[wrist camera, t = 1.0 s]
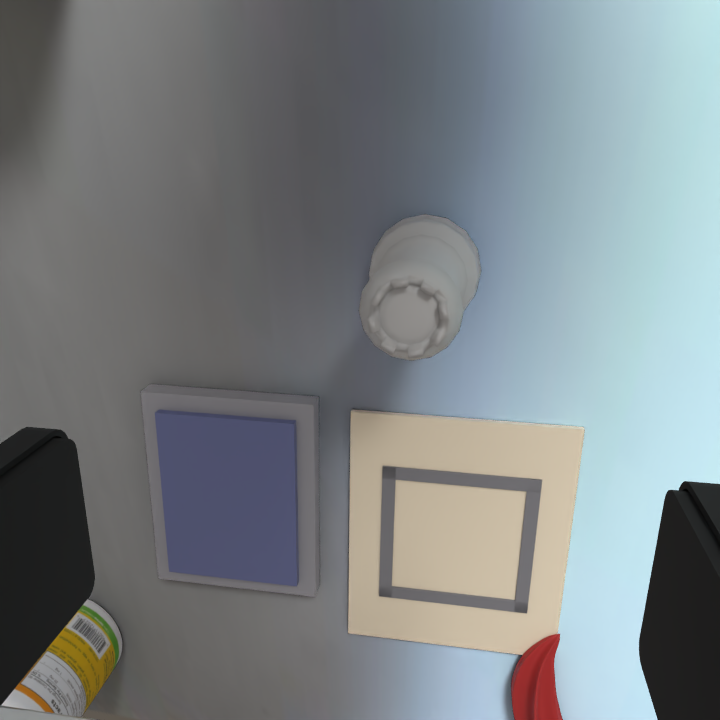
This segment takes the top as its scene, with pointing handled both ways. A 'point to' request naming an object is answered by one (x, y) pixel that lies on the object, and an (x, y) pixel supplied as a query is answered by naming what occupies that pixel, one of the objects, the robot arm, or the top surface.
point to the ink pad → (234, 487)
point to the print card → (459, 528)
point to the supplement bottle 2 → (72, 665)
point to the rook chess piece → (419, 286)
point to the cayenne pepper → (536, 683)
